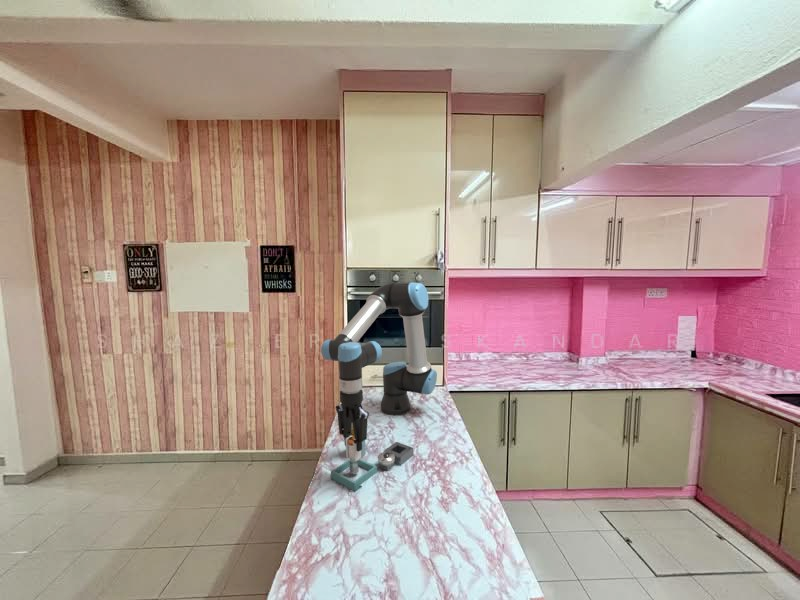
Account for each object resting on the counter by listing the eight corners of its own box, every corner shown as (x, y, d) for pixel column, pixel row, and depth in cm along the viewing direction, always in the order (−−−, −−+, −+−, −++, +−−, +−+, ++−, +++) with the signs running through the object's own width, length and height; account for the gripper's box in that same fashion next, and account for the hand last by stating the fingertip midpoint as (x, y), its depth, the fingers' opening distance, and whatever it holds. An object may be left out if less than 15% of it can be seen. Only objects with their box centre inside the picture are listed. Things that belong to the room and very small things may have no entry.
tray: (354, 464, 124) (353, 456, 123) (377, 474, 117) (377, 466, 117) (331, 479, 115) (330, 471, 115) (354, 492, 108) (354, 483, 108)
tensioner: (390, 477, 116) (389, 461, 115) (372, 469, 120) (372, 454, 120) (413, 458, 127) (413, 444, 126) (396, 451, 131) (396, 438, 131)
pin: (354, 467, 118) (352, 435, 117) (360, 470, 116) (359, 438, 115) (347, 472, 115) (346, 439, 114) (354, 475, 114) (352, 441, 112)
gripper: (326, 388, 115) (329, 455, 117) (361, 398, 105) (363, 470, 107) (342, 382, 121) (344, 445, 123) (377, 391, 111) (379, 459, 113)
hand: (353, 457), depth 115 cm, fingers closed on pin, 3 cm apart
